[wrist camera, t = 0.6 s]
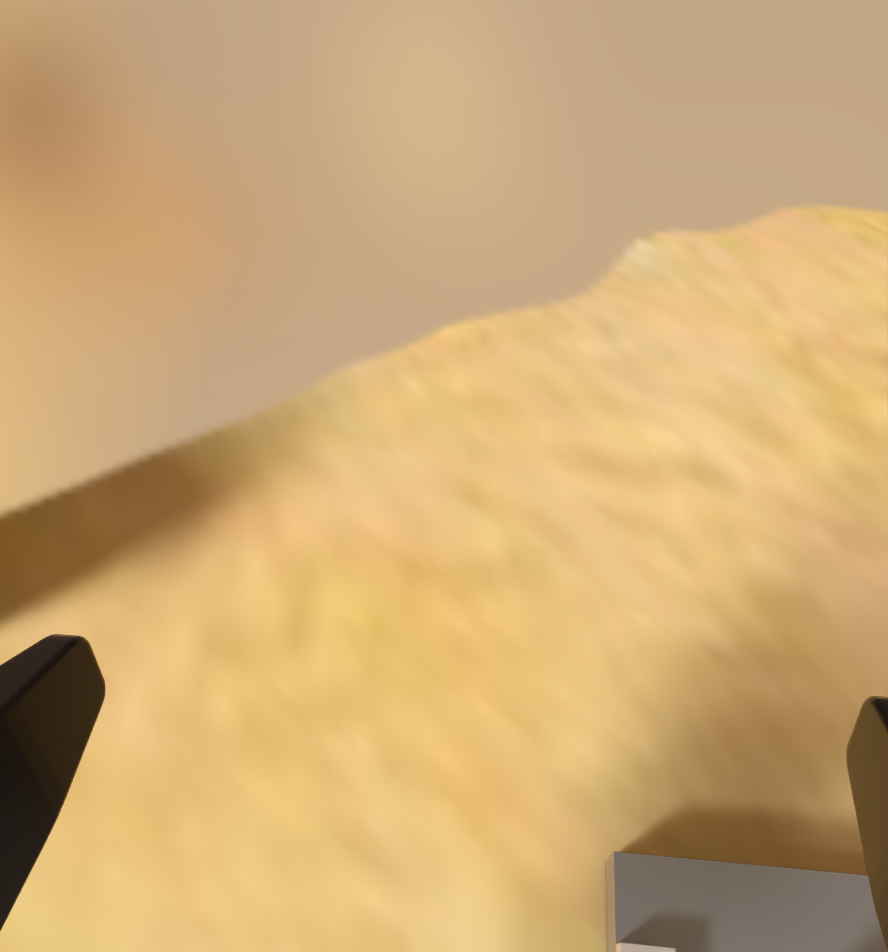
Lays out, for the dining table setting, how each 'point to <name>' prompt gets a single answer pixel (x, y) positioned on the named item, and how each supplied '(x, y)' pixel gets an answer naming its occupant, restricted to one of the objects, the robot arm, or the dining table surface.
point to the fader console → (735, 907)
